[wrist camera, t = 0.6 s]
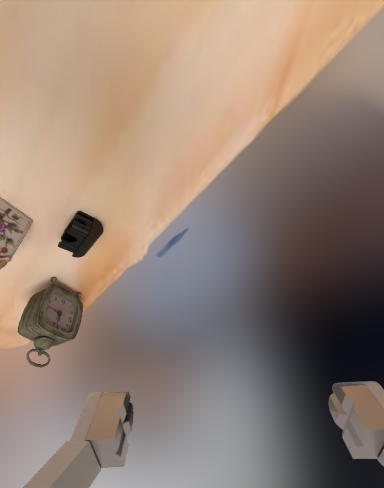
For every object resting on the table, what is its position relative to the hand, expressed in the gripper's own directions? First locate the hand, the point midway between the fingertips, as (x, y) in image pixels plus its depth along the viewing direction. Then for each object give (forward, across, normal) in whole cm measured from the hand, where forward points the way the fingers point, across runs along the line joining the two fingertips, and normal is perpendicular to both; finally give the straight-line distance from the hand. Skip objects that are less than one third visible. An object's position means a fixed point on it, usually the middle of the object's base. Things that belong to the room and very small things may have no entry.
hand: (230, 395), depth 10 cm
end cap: (+54, +31, +12) cm, 63 cm away
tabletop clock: (+61, +48, +36) cm, 85 cm away
